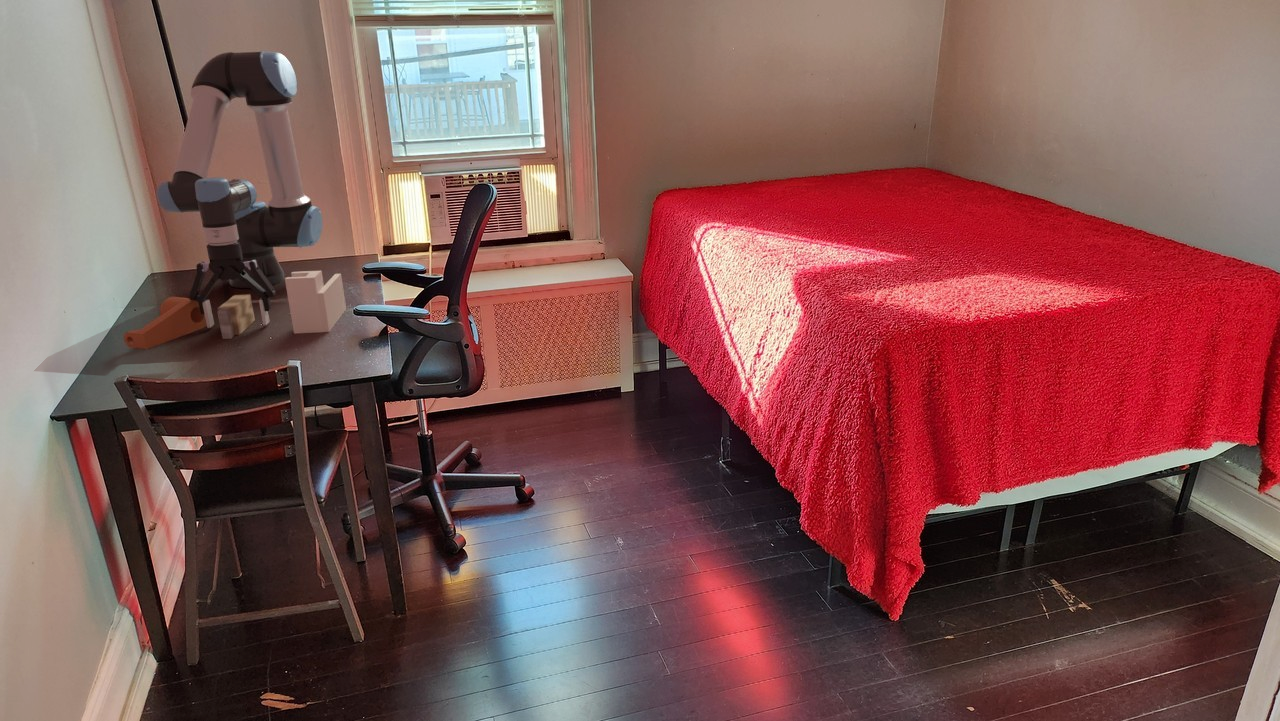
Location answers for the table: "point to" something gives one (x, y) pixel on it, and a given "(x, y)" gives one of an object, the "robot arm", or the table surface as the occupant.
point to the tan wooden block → (235, 315)
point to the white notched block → (314, 301)
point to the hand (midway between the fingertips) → (238, 324)
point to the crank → (168, 324)
